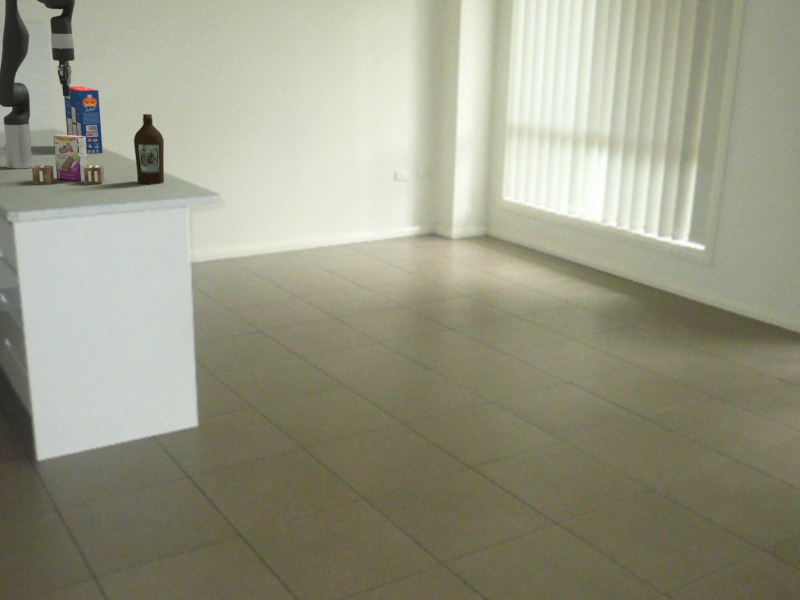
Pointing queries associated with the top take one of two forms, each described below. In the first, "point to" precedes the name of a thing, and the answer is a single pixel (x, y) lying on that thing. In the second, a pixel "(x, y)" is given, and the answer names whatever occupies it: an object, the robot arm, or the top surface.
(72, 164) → the candy bar box
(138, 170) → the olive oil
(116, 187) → the top surface
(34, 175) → the walnut block one
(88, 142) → the pasta box
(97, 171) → the walnut block two
